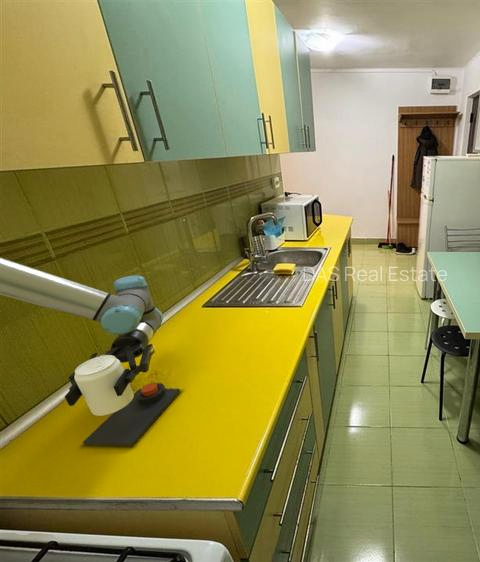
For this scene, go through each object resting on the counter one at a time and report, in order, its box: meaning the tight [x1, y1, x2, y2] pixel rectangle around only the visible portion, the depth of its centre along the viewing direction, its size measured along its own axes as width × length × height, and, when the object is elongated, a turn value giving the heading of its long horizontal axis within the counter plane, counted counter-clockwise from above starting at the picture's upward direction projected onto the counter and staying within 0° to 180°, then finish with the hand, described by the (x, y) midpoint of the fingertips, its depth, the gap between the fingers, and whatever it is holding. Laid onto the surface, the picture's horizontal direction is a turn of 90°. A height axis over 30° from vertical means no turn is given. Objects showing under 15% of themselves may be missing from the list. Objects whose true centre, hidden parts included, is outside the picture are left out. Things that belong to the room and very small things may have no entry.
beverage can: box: [74, 355, 135, 417], centre depth 71 cm, size 8×8×12 cm
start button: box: [140, 382, 158, 397], centre depth 85 cm, size 4×4×2 cm
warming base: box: [82, 382, 181, 448], centre depth 80 cm, size 18×12×3 cm, turn 178°
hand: (93, 396), depth 67 cm, fingers closed on beverage can, 8 cm apart
